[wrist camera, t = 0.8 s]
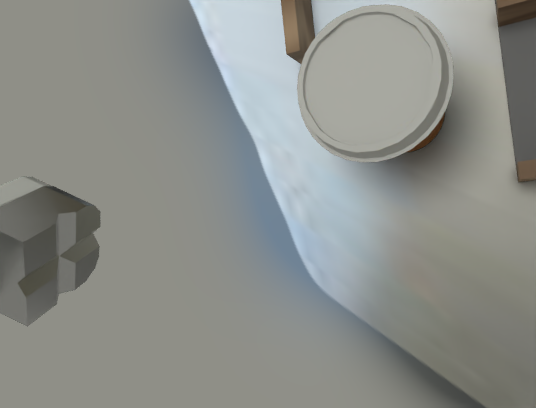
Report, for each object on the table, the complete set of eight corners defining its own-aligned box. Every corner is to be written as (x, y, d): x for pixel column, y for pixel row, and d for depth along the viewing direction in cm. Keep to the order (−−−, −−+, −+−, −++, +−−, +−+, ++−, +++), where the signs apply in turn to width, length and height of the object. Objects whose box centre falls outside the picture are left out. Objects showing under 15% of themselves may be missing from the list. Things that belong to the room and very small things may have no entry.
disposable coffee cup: (417, 195, 37) (382, 192, 26) (327, 132, 41) (263, 107, 30) (495, 92, 35) (490, 43, 24) (391, 34, 38) (347, -31, 27)
